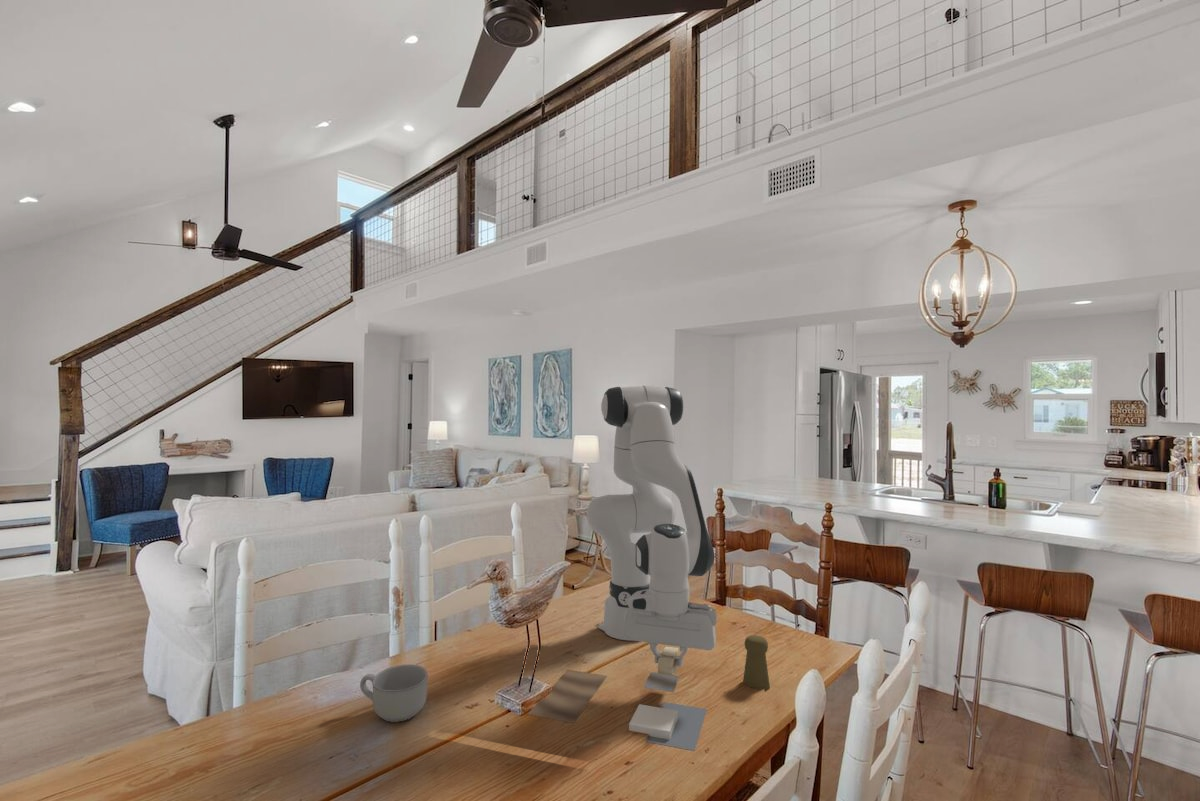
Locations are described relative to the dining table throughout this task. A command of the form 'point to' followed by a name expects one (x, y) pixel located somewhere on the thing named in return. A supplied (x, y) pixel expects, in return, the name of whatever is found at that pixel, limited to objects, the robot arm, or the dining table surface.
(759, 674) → the olive green pawn
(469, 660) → the dining table surface
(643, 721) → the tile
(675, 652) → the beige upright plank
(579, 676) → the board
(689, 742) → the mat
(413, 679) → the teacup
